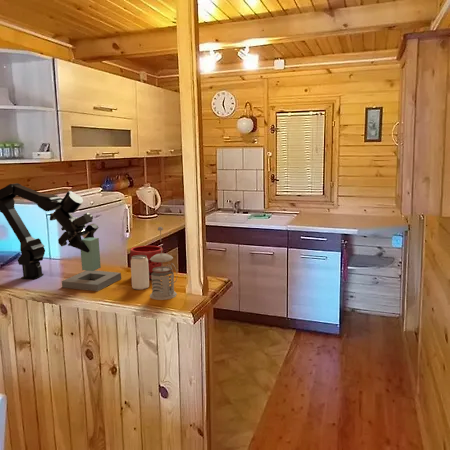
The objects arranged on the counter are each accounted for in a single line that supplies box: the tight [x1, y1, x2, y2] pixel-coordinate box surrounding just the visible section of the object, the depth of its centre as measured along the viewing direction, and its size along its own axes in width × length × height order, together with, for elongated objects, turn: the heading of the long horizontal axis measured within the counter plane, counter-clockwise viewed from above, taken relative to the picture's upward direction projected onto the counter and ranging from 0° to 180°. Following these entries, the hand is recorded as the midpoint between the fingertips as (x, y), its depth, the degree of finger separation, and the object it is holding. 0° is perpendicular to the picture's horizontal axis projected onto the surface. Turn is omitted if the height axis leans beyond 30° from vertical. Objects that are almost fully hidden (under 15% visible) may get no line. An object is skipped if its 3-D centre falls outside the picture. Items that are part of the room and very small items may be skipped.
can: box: [130, 255, 150, 291], centre depth 167 cm, size 6×6×12 cm
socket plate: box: [61, 270, 122, 292], centre depth 174 cm, size 16×16×2 cm
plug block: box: [80, 237, 102, 271], centre depth 172 cm, size 5×5×12 cm
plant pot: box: [129, 245, 164, 280], centre depth 181 cm, size 13×13×12 cm
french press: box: [149, 226, 178, 301], centre depth 156 cm, size 10×12×25 cm
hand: (93, 250), depth 171 cm, fingers closed on plug block, 5 cm apart
